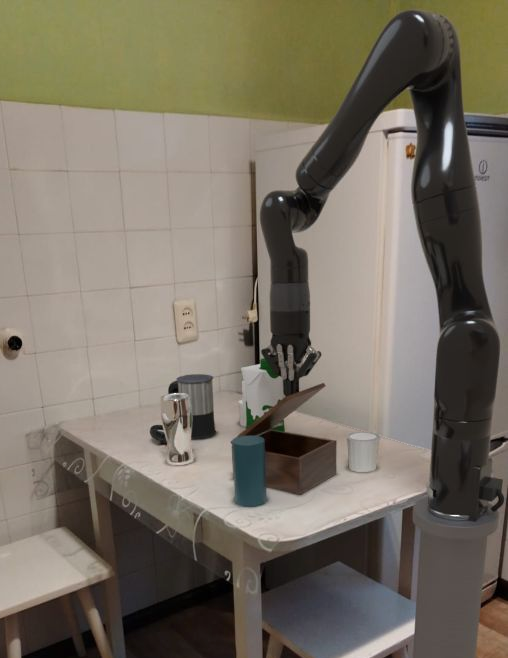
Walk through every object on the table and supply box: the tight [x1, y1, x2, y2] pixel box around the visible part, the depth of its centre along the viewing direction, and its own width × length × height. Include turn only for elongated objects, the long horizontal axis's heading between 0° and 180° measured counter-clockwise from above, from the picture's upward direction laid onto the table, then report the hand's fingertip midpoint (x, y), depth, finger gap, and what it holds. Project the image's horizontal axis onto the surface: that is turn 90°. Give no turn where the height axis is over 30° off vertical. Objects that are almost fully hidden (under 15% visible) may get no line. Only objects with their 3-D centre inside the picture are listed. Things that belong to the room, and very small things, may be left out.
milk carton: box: [240, 357, 286, 436], centre depth 155 cm, size 9×9×20 cm
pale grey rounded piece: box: [238, 380, 246, 428], centre depth 171 cm, size 9×9×12 cm
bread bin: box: [231, 429, 337, 496], centre depth 132 cm, size 17×14×7 cm
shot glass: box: [346, 431, 381, 473], centre depth 135 cm, size 7×7×7 cm
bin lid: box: [230, 382, 327, 445], centre depth 129 cm, size 18×14×1 cm
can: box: [231, 436, 268, 508], centre depth 120 cm, size 6×6×12 cm
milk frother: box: [149, 373, 217, 444], centre depth 160 cm, size 14×16×15 cm
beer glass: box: [159, 393, 195, 466], centre depth 143 cm, size 7×7×15 cm
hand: (291, 397), depth 126 cm, fingers closed
